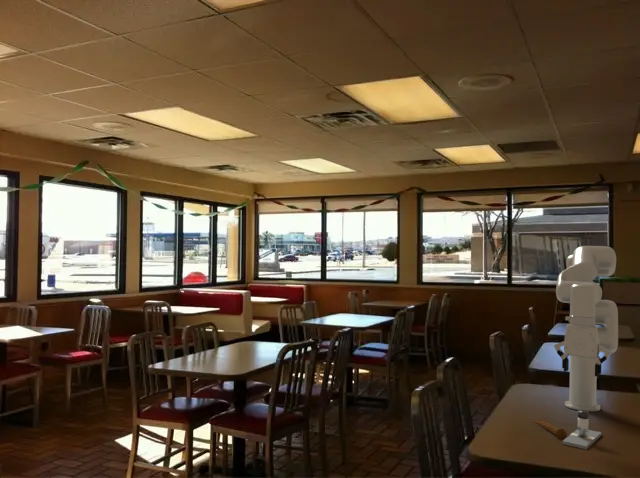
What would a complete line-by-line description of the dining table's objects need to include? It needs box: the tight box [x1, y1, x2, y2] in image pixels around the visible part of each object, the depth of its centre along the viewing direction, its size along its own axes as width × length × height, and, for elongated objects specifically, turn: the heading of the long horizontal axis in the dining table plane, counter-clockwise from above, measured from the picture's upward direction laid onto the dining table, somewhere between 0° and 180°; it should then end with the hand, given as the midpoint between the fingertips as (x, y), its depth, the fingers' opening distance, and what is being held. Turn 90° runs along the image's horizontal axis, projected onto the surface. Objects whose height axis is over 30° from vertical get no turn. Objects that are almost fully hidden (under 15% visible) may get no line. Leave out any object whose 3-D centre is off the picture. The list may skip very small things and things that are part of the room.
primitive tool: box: [531, 419, 568, 440], centre depth 195 cm, size 19×6×4 cm, turn 4°
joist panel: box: [562, 428, 602, 450], centre depth 185 cm, size 18×7×1 cm, turn 140°
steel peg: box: [576, 410, 590, 438], centre depth 185 cm, size 3×3×8 cm
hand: (581, 373), depth 188 cm, fingers open, 9 cm apart
